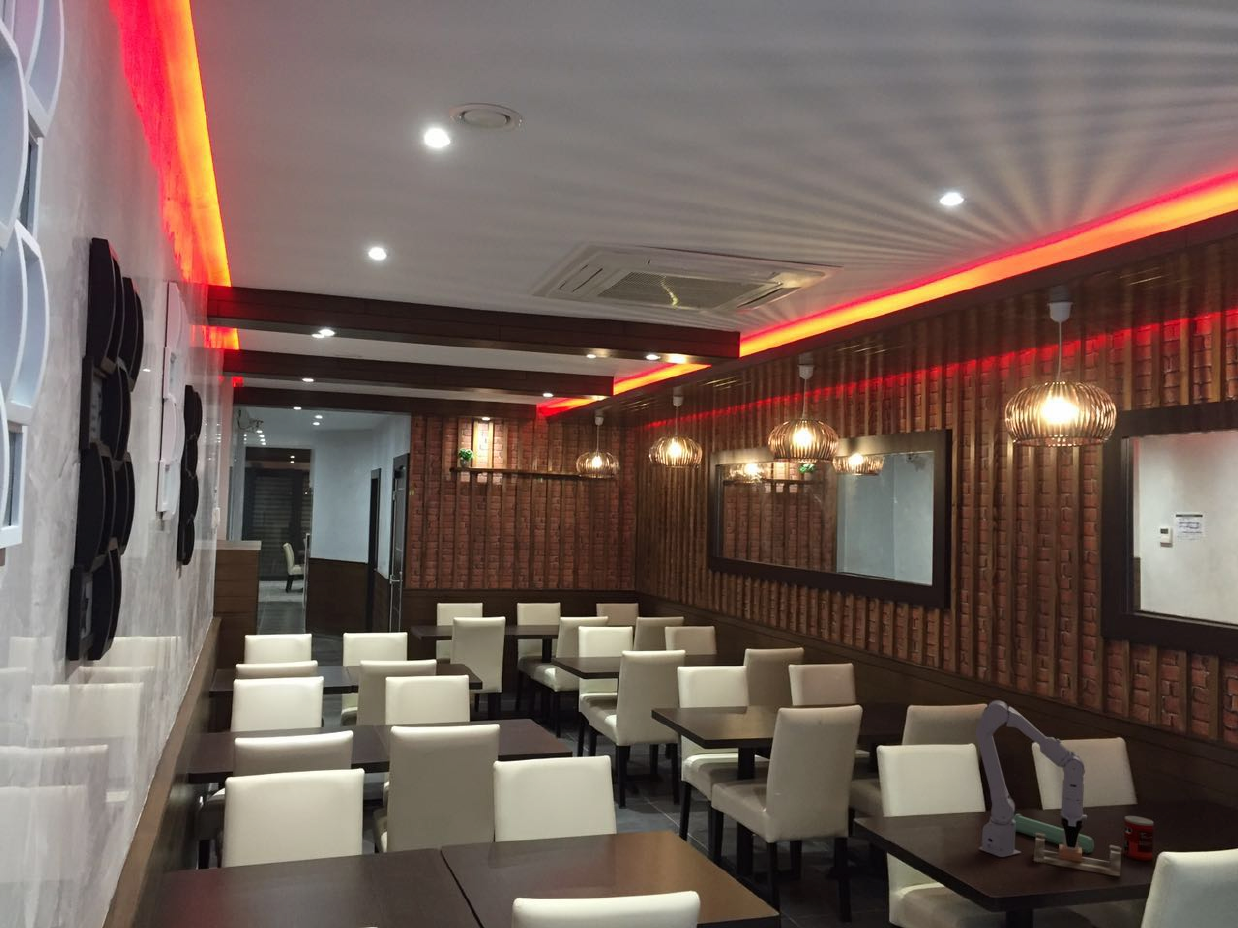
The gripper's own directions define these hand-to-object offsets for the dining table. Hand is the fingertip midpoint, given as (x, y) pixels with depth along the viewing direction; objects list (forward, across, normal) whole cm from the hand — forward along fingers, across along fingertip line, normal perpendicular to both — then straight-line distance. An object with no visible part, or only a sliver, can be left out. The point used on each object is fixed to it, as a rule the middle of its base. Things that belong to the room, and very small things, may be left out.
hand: (1070, 845), depth 297 cm
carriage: (+4, 0, 0) cm, 4 cm away
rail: (+5, 0, -2) cm, 5 cm away
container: (+6, +21, +5) cm, 22 cm away
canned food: (+6, +20, -19) cm, 28 cm away
